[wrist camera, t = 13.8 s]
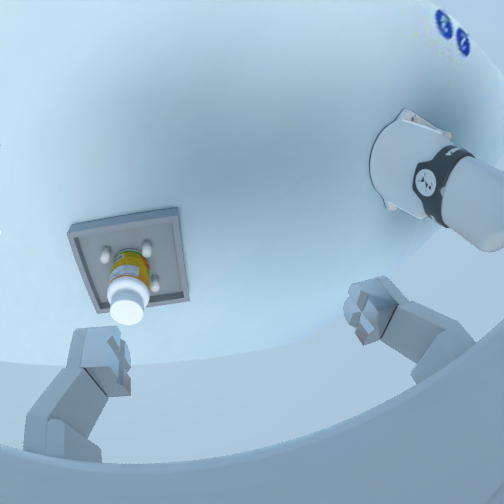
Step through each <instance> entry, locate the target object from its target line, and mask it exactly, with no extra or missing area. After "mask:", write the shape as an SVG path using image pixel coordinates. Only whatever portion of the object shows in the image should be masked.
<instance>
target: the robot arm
mask: <svg viewBox="0 0 504 504" xmlns="http://www.w3.org/2000/svg"><path fill="white" fill-rule="evenodd" d="M451 139H452V134H451V133H449V132H447V131H445V130H441V129H438V128H436V127H435V126H433V125H432V124H430V123H429V122H427V121H426V120H425V119H423V118H421V117H420V116H418V115H417V114H415V113H414V112H412V111H410V110H408V109H404V110H403V111H402V112H401V113H400V115H399V116H398V118H397V119H396V120H395V121H394V122H393V123H391V124H390V125H388V126H387V127H386V128H385V129H384V130H383V131H382V132H381V134H380V135H379V137H378V138H377V140H376V142H375V144H374V147H373V150H372V154H371V160H370V174H371V179H372V182H373V185H374V187H375V189H376V190H377V191H378V193H379V194H380V195H381V196H382V197H383V199H384V203H385V206H386V208H387V209H389V210H391V211H394V210H397V209H402V210H404V211H405V212H407V213H409V214H411V215H412V216H414V217H416V218H418V219H422V218H426V217H430V218H431V219H433V221H435V222H436V223H437V224H439V225H442V226H443V227H445V228H451V229H452V230H454V231H455V232H457V233H458V234H459V235H461V236H462V237H463V238H465V239H466V240H467V241H469V242H470V243H471V244H473V245H474V246H475V247H477V248H478V249H479V250H481V251H483V252H495V251H498V250H500V249H502V248H503V247H504V171H502V170H500V169H498V168H495V167H493V166H491V165H489V164H486V163H484V162H482V161H480V160H478V159H476V158H475V157H474V156H473V155H472V154H471V153H469V152H468V151H466V150H464V149H462V148H458V147H456V146H455V145H454V144H453V143H452V142H451ZM348 294H349V295H350V296H349V297H348V298H347V300H346V301H345V303H344V307H343V310H344V316H345V318H346V321H347V322H348V324H349V325H351V326H353V327H355V334H356V335H357V337H358V338H359V340H360V341H361V343H362V344H363V346H364V345H366V344H369V343H372V342H375V341H378V340H381V341H382V342H384V343H385V344H387V345H388V346H390V347H391V348H393V349H395V350H396V351H398V352H399V353H401V354H402V355H404V356H405V357H407V358H409V359H410V360H412V361H413V362H415V363H416V364H417V365H416V366H415V367H414V368H413V370H412V371H411V376H412V378H413V379H414V381H415V382H416V384H417V385H415V386H413V387H412V388H410V389H408V390H406V391H404V392H403V393H401V394H399V395H397V396H395V397H394V398H392V399H390V400H388V401H386V402H384V403H382V404H380V405H378V406H376V407H374V408H372V409H370V410H368V411H366V412H363V413H361V414H359V415H357V416H355V417H352V418H350V419H348V420H345V421H343V422H341V423H338V424H335V425H333V426H330V427H328V428H325V429H322V430H320V431H317V432H314V433H311V434H308V435H305V436H302V437H299V438H296V439H293V440H290V441H286V442H283V443H279V444H276V445H272V446H268V447H264V448H261V449H256V450H252V451H247V452H243V453H238V454H232V455H227V456H222V457H215V458H209V459H201V460H193V461H184V462H172V463H156V464H112V463H102V457H101V449H100V448H99V447H98V446H97V445H95V444H94V443H92V442H91V441H89V440H88V437H89V434H90V433H91V431H92V428H93V427H94V425H95V423H96V421H97V419H98V417H99V415H100V414H101V412H102V410H103V408H104V406H105V404H106V402H107V401H108V397H119V396H130V395H131V379H130V377H129V376H128V374H127V372H128V371H129V369H130V368H131V360H130V353H129V350H128V346H127V344H126V342H125V341H123V340H122V339H120V336H121V332H120V331H119V329H118V327H117V326H105V327H90V328H78V329H75V331H74V332H73V336H72V341H71V345H70V350H69V355H68V360H67V366H66V369H62V370H61V371H60V372H59V374H58V375H57V376H56V377H55V379H54V380H53V381H52V382H51V384H50V385H49V386H48V387H47V389H46V390H45V391H44V392H43V394H42V395H41V396H40V398H39V399H38V400H37V401H36V403H35V404H34V406H33V407H32V408H31V409H30V411H29V412H28V414H27V416H26V424H25V433H24V446H23V447H24V448H23V450H19V449H16V448H12V447H9V446H5V445H2V444H0V504H504V319H503V320H502V321H501V322H500V323H499V324H498V325H497V326H495V327H494V328H493V329H492V330H491V331H490V332H489V333H487V334H486V335H485V336H484V337H483V338H482V339H480V340H479V341H478V342H477V343H476V342H475V341H474V340H473V338H472V337H471V336H470V335H469V334H468V332H467V331H466V330H465V329H464V328H463V327H462V325H461V324H460V323H459V322H458V321H456V320H454V319H452V318H449V317H447V316H445V315H443V314H440V313H438V312H436V311H434V310H432V309H429V308H427V307H425V306H423V305H421V304H419V303H416V302H414V301H409V300H408V299H407V298H406V297H405V296H404V295H403V294H402V293H401V292H400V290H399V289H398V288H397V287H396V286H395V285H394V284H393V283H392V282H391V281H390V280H389V279H388V278H387V277H386V276H381V277H377V278H373V279H369V280H365V281H362V282H358V283H354V284H352V285H351V286H350V287H349V290H348Z"/></svg>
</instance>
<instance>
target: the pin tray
mask: <svg viewBox="0 0 504 504" xmlns="http://www.w3.org/2000/svg"><path fill="white" fill-rule="evenodd" d="M67 236H68V239H69V242H70V245H71V248H72V251H73V254H74V257H75V260H76V263H77V265H78V268H79V271H80V273H81V276H82V279H83V281H84V284H85V286H86V289H87V291H88V293H89V296H90V298H91V301H92V303H93V305H94V307H95V310H96V312H97V314H99V313H107V312H110V303H109V301H108V298H107V289H108V283H109V278H110V273H111V268H112V264H113V260H114V258H115V256H116V255H117V254H118V253H119V252H121V251H123V250H126V249H135V250H138V251H140V252H142V255H143V256H144V257H147V258H148V261H149V264H150V297H149V302H148V304H147V306H146V307H153V306H160V305H167V304H173V303H180V302H187V301H190V298H189V292H188V285H187V279H186V272H185V265H184V258H183V251H182V244H181V236H180V227H179V219H178V210H177V208H170V209H162V210H155V211H148V212H142V213H135V214H129V215H123V216H117V217H111V218H105V219H99V220H94V221H88V222H83V223H78V224H73V225H71V227H70V229H69V231H68V232H67ZM146 307H145V308H146Z"/></svg>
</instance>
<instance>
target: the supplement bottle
mask: <svg viewBox="0 0 504 504" xmlns="http://www.w3.org/2000/svg"><path fill="white" fill-rule="evenodd" d="M149 297H150V264H149V261H148V258H147V257H144V256H143V255H142V252H140V251H138V250H135V249H126V250H123V251H121V252H119V253H118V254H117V255H116V256H115V258H114V260H113V264H112V268H111V273H110V278H109V283H108V289H107V298H108V301H109V303H110V314H111V316H112V318H113V319H114V320H115V321H116V322H118V323H120V324H123V325H134V324H136V323H138V322H140V321H141V320H142V318H143V315H144V308H145V307H146V306H147V304H148V302H149Z"/></svg>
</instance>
